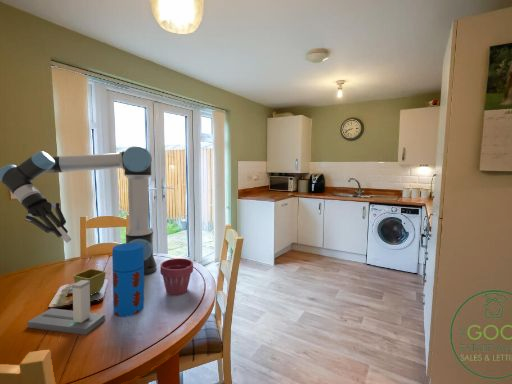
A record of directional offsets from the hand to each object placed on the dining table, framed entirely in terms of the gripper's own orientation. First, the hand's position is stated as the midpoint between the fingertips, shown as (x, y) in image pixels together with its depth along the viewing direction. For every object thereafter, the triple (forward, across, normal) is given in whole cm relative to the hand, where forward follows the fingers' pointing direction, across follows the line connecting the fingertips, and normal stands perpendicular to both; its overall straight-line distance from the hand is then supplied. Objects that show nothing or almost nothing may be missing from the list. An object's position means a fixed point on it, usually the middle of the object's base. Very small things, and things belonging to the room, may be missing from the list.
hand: (68, 240), depth 111 cm
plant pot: (+46, -16, +7) cm, 50 cm away
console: (+27, +19, +5) cm, 33 cm away
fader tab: (+29, +16, +10) cm, 35 cm away
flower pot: (+22, +3, -12) cm, 25 cm away
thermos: (+38, +3, +9) cm, 39 cm away
